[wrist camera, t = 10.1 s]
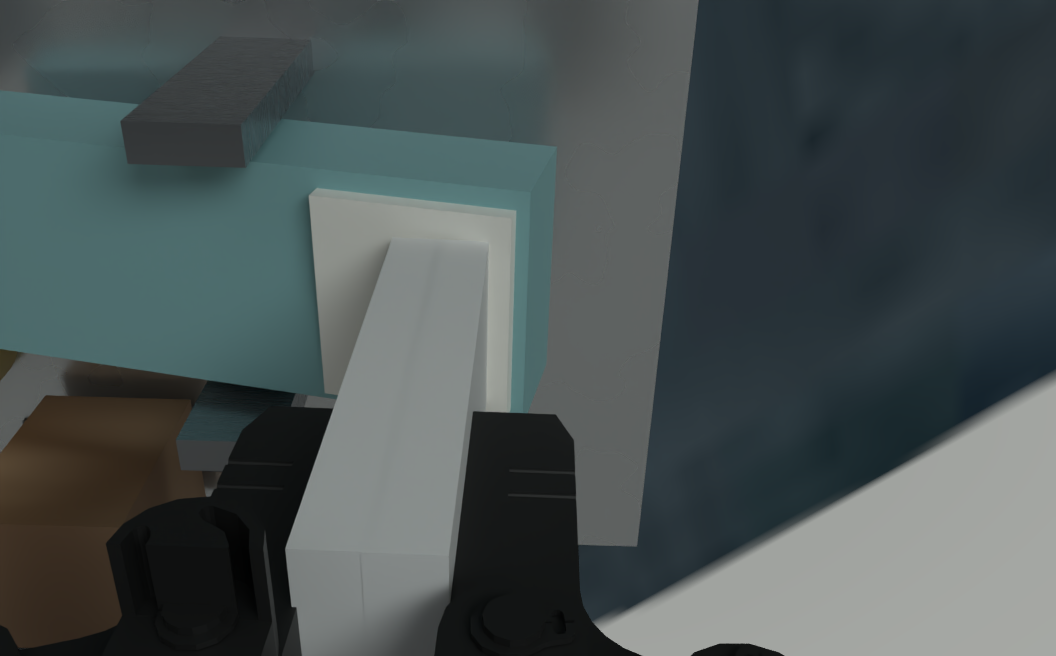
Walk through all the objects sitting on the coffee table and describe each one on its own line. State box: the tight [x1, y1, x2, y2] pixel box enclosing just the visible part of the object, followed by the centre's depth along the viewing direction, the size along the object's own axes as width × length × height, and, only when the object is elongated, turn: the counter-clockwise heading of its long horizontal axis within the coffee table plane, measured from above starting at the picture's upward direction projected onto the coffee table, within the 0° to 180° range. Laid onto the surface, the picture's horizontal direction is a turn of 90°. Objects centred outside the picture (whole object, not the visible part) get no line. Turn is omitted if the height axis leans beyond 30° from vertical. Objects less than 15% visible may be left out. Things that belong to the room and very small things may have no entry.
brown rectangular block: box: [0, 395, 206, 648], centre depth 20 cm, size 3×3×4 cm
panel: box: [0, 0, 698, 546], centre depth 18 cm, size 17×14×7 cm
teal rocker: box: [0, 90, 557, 413], centre depth 16 cm, size 10×4×2 cm, turn 88°
